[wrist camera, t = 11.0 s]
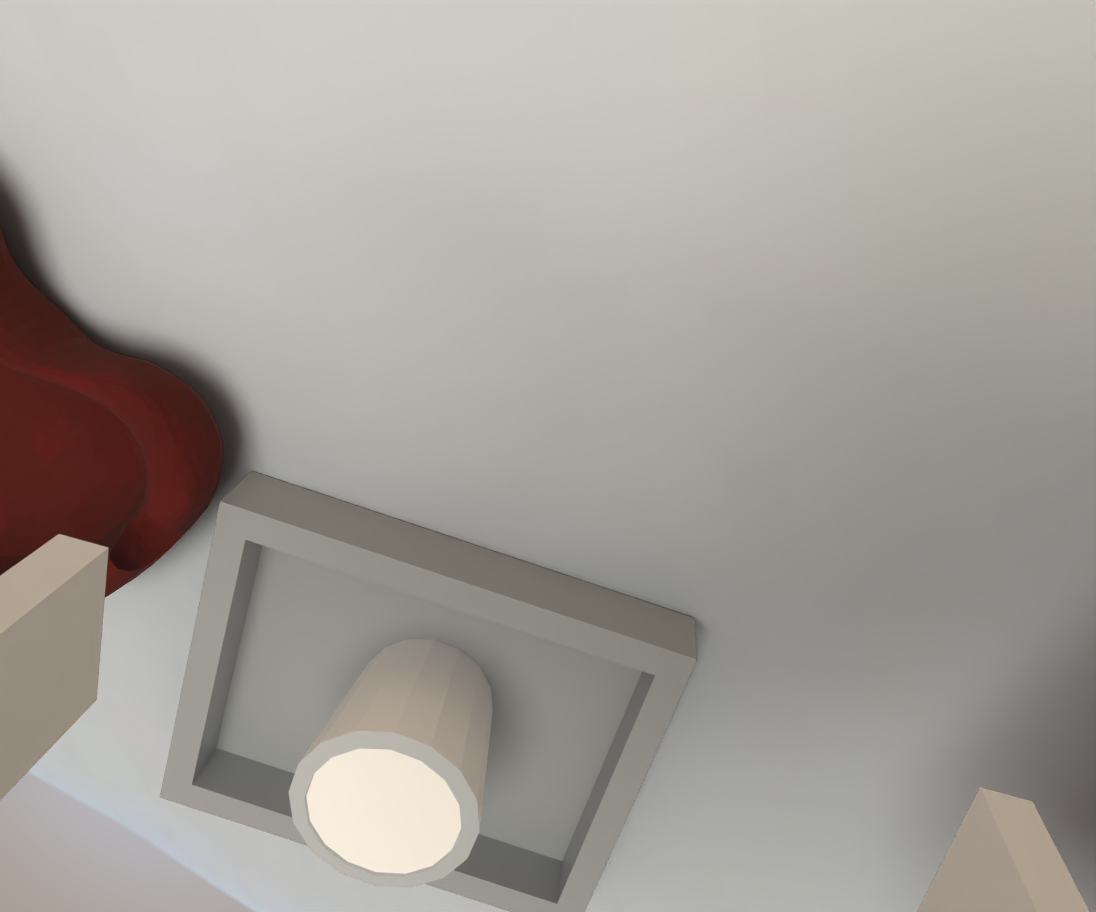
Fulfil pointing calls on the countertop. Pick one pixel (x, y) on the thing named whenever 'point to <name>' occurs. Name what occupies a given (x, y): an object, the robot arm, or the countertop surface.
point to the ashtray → (93, 440)
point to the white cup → (399, 768)
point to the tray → (432, 614)
